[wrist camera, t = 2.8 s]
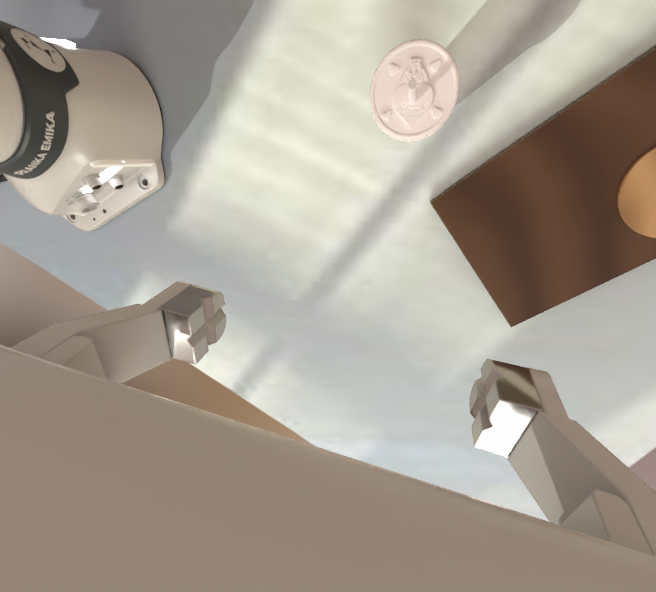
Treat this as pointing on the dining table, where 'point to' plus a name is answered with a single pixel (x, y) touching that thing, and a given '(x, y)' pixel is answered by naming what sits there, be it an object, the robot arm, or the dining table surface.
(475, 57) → the dining table surface
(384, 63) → the smoothie
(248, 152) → the dining table surface
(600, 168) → the serving board
